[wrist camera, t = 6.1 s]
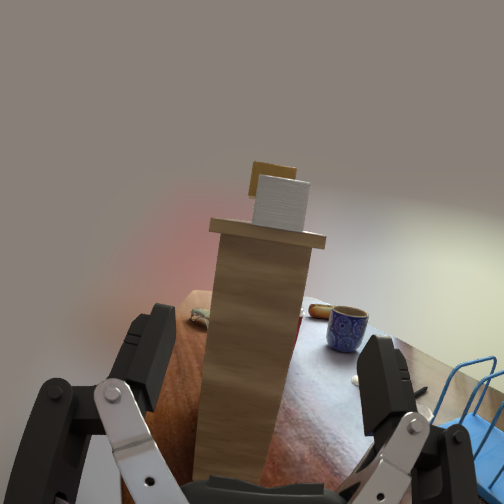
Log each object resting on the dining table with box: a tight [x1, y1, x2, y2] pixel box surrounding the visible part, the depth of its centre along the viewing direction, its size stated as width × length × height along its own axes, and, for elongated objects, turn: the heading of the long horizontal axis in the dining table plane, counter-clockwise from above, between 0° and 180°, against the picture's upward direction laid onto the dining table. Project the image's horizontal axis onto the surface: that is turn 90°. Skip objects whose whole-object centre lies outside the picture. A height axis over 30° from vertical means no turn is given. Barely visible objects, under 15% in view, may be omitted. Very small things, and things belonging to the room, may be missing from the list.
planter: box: [326, 306, 369, 352], centre depth 84 cm, size 11×11×11 cm
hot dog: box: [308, 304, 334, 319], centre depth 114 cm, size 5×13×5 cm, turn 95°
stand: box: [192, 218, 326, 486], centre depth 41 cm, size 25×10×31 cm, turn 0°
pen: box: [414, 387, 428, 397], centre depth 56 cm, size 1×16×1 cm, turn 122°
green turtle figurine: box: [189, 308, 210, 329], centre depth 89 cm, size 9×11×5 cm
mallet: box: [248, 161, 310, 233], centre depth 29 cm, size 22×5×7 cm, turn 0°
